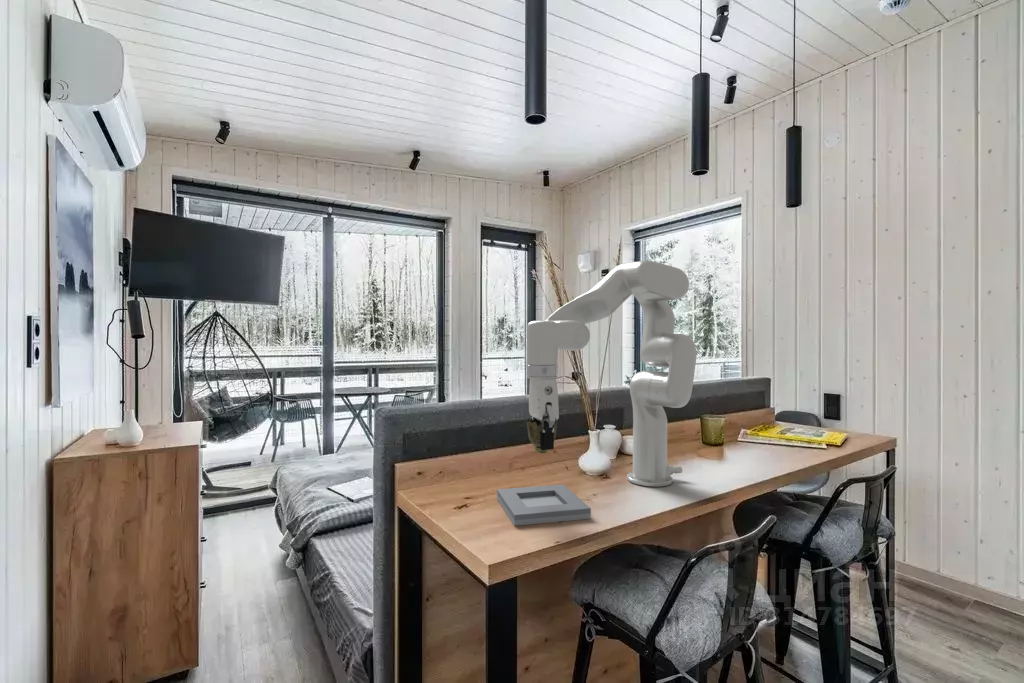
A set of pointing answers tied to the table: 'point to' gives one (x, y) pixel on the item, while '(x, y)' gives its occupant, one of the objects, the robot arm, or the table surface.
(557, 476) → the table surface
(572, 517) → the display stand
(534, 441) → the cup
